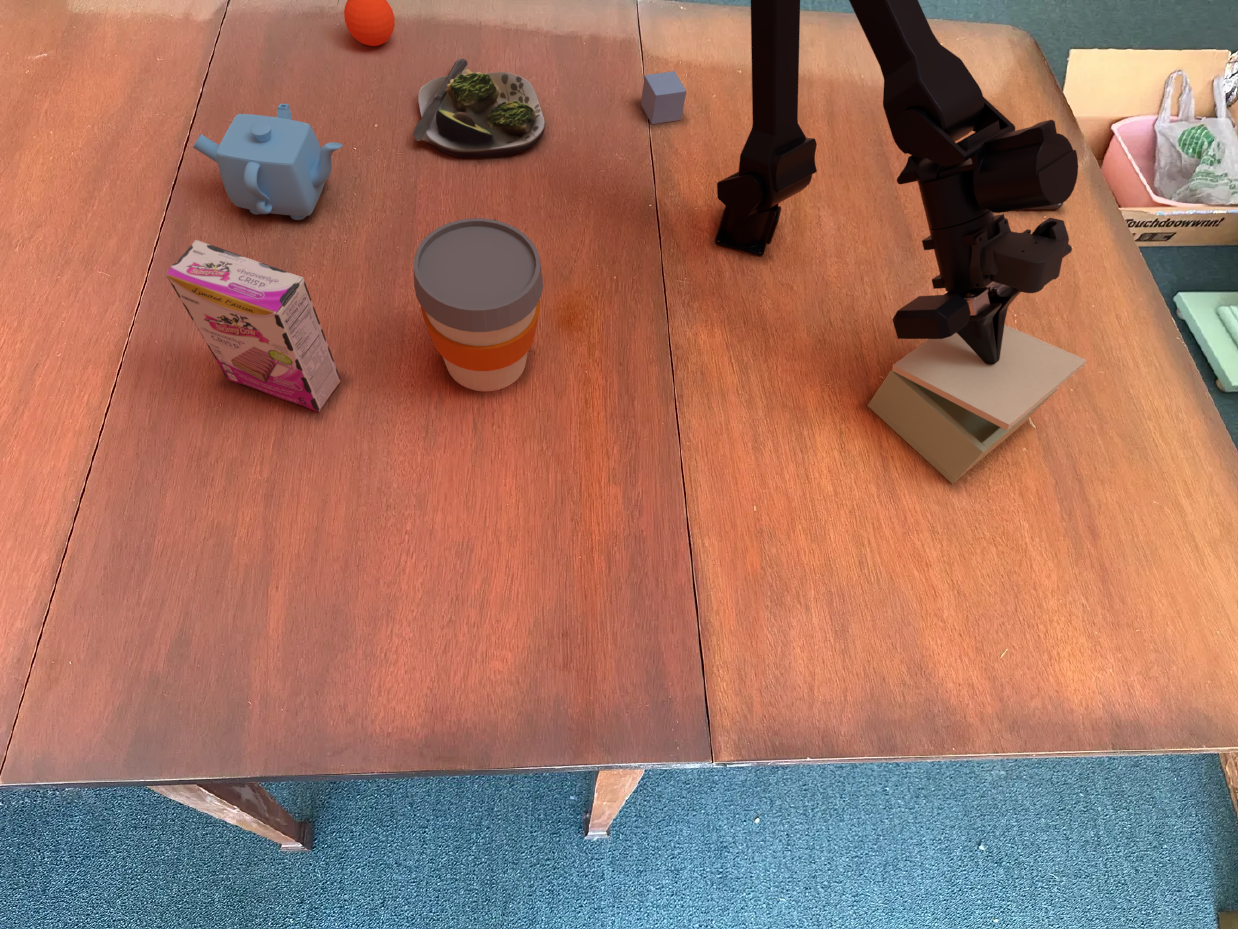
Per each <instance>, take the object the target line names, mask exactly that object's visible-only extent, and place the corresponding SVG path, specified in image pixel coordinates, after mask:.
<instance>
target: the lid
mask: <svg viewBox="0 0 1238 929" xmlns="http://www.w3.org/2000/svg"><path fill="white" fill-rule="evenodd" d="M1086 363H1087V359H1085V358H1083V357H1081V356H1079V355H1076V354H1074V353H1072V352H1070V351H1067V350H1065V349H1062V348H1061V347H1058V346H1056V345H1053V344H1051V343H1049V342H1046V341H1044V340H1041V339H1039V338H1037V337H1035V336H1033V335H1031V334H1028V333H1025V332H1023V331H1021V330H1018V329H1016V328H1014V327H1011V326H1010V325H1007V324H1005V325H1004V331H1003V338H1002V346H1001V353H1000V360H999V361H998V362H997V363H995V364H994V365H990V364H985V363H984V361H983V360H982V359H981V358H980V357H979V356H978V355H977V354H976V353H975V352H974V351H973V350H972V348H971V347H970V346H969V345H968V344H967V343H966V342H965V341H964V340H963V339H962V338H961V337H960V336H959V335H958V334H957V333H955V334H953V335H952V336H951V337H947V338H944V339H926V340H925V341H924V342H923V343H921V344H920V345H918V346H917V347H916V348H915V349H913V350H912V351H910V352H909V353H907V354H906V355H904V356H903V357H902V358H900V359H899V360H898V361H896V362H895V363H893V364H892V368H891V370H892V371H894V372H896V373H898V374H900V375H902V376H903V377H905V378H907V379H909V380H911V381H913V382H915V383H917V384H919V385H921V386H923V387H925V388H926V389H928V390H930V391H932V392H934V393H936V394H938V395H940V396H942V397H944V398H946V399H948V400H949V401H951V402H953V403H955V404H957V405H959V406H961V407H963V408H965V409H967V410H969V411H971V412H972V413H974V414H976V415H978V416H980V417H982V418H984V419H986V420H988V421H990V422H992V423H994V424H995V425H997V426H999V427H1001V428H1003V429H1005V430H1009V429H1010V428H1011V427H1012V426H1013V425H1015V424H1016V423H1017V422H1018V421H1019V420H1020V419H1022V418H1023V417H1024V416H1025V415H1026V414H1028V413H1029V412H1030V411H1031V410H1032V409H1034V408H1035V407H1036V406H1037V405H1038V404H1039V403H1041V402H1042V401H1043V400H1044V399H1045V398H1047V397H1048V396H1049V395H1050V394H1051V393H1053V392H1054V391H1055V390H1056V389H1058V388H1060V387H1061V386H1062V385H1064V384H1065V383H1066V382H1067V381H1068V380H1069V379H1071V378H1072V377H1073V376H1074V375H1075V374H1076V373H1078V372H1079V371H1080V370H1081V369H1082V368H1083V367H1085V365H1086Z"/></svg>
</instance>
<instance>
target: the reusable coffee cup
mask: <svg viewBox="0 0 1238 929" xmlns="http://www.w3.org/2000/svg"><path fill="white" fill-rule="evenodd" d="M539 254H540V253H539V251H538V248H537V247H536V245H535V243H534V242H533V241H532V239H530V237H529V236H528V235H527V234H526V233H524V232H523V231H521V230H520V229H518V228H517V227H515V226H514V225H510V224H509V223H507V222H504V221H500V220H496V219H492V218H491V219H490V218H486V217H485V218H484V217H471V218H462V219H457V220H454V221H450V222H448V223H445V224H443V225H441V226H439V227H437V228H435V229H433V231H431V232H430V233H428V234H427V235H426V236H425V237H424V238H423V239H422V240H421V242H420V244H419V245H418V247H417V248H416V250H415V254H414V257H413V288H414V292H415V298H416V299H417V301H418V303H419V305H420V309H421V315H422V318H423V321H424V323H425V326H426V328H427V331H428V333H429V336H430V338H431V341H432V343H433V345H434V347H435V349H436V351H437V352H438V353H439V355H441V357H442V359H443V361H444V364H445V367H446V369H447V371H448V373H449V375H450V377H451V378H452V379H453V380H454V381H455V382H456V383H458V384H459V385H460V386H462V387H464V388H466V389H469V390H472V391H476V392H493V391H494V392H495V391H499V390H503V389H504V388H507V387H509V386H510V385H512V384H513V383H515V382H516V381H517V380H518V379H519V378H520V377H521V375H522V374H523V372H524V370H525V368H526V364H527V358H528V355H529V351H530V349H531V348H532V345H533V343H534V341H535V336H536V332H537V327H538V322H539V316H540V311H541V298H542V294H543V290H544V279H543V278H544V276H543V271H542V270H543V269H542V263H541V262H542V261H541V257H540V255H539Z"/></svg>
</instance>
